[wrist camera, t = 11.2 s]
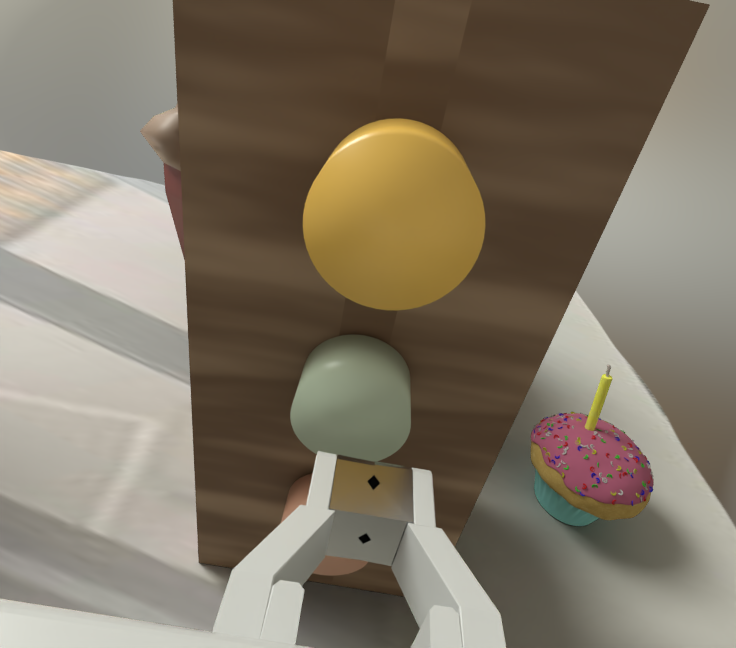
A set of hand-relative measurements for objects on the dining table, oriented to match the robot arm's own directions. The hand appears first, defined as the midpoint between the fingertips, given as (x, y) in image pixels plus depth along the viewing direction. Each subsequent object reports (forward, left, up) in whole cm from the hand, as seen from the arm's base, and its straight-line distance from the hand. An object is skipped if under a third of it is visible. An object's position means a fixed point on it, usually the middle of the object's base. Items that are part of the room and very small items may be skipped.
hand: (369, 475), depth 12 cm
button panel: (+8, +8, -18) cm, 22 cm away
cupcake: (+24, -1, -19) cm, 30 cm away
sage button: (+5, +6, -5) cm, 9 cm away
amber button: (+4, +4, +3) cm, 7 cm away
